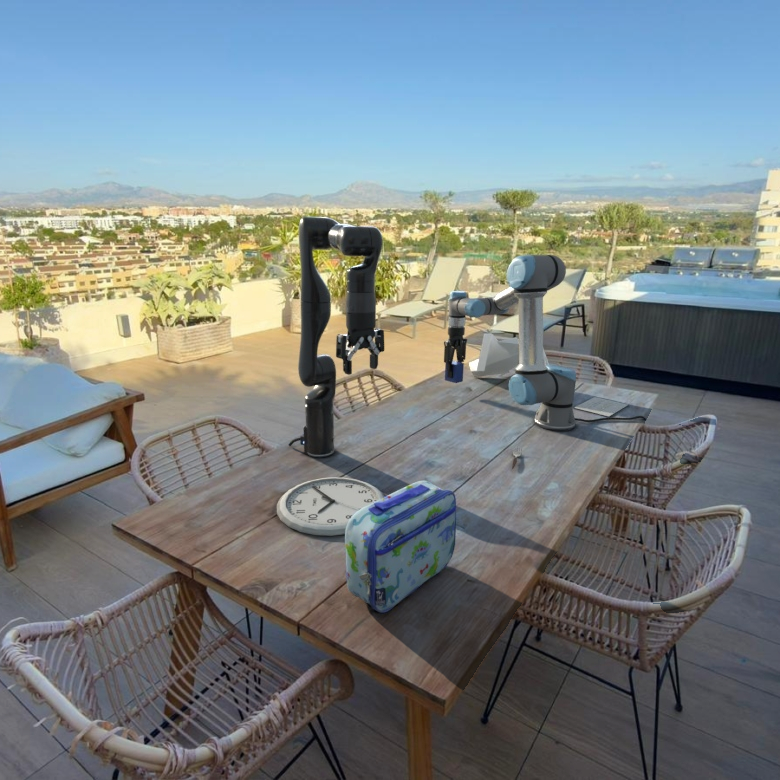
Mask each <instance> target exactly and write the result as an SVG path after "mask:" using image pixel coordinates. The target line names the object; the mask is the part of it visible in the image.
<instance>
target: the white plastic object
mask: <svg viewBox="0 0 780 780" xmlns="http://www.w3.org/2000/svg"><path fill="white" fill-rule="evenodd" d="M545 351H546V350H545V348H544V347H543V364H544V365H545V366H547V365H550V363H549V360H548V356H547V354H546V352H545ZM518 365H519V337H516V336H514V337H510V338H506V339H502V340H499V339H497V338H496V336H495V335H494V334H493V333H483V337H482V342H481V346H480V352H479V356H478V358H477V359H475V360H473V361H470V362H468V366H469V369H470V373H471V374H472V375H473V377H475V378H477V377H488V376H495V375H500V376H505V375H507V374H509V373H511V370H513V369H515V368H516V367H517V366H518Z"/></svg>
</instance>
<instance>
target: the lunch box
mask: <svg viewBox="0 0 780 780" xmlns="http://www.w3.org/2000/svg"><path fill="white" fill-rule="evenodd" d="M456 531H457V499H456V495H455V493H454V492H453V490H450V489H442V488H440V487H439V486H437V485H435V484H433V483H432V482H430V481H428V480H418V481H416V482H413V483H410V484H409V485H406V486H405V487H402V488H400V489H398V490H396V491H394V492H392V493H390V494H388V495H385V497H384V498H382V499H380V500H378V501H376V502H374V503H372V504H370V505H368V506H366V507H364V508H362V509H360V510H358V511H357V512H355V513H354V514H353V515H352V517H351V518H350V520H349V522H348V524H347V527H346V531H345V534H344V552H345V577H346V578H345V580H346V586H347V589H348V592H349V593H350V594H352V595H354V596H356V597H357V598H359V599H361V600H363V602H365V603H367V604H368V605H370V607H371V608H372V609H373V610H375V611H376V612H378V613H380V614H382V613H383V614H385V613H387V612H389V611H391V609H393V608H394V607H395V606H396V605H397V604H400V602H401V601H402V600H404V599H406V597H409V596H410V595H411V594H412V593H414V592H415V591H416V590H417V589H418V588H420V587H421V586H422V585H423V584H424V583H425V582H427V581H428V580H430V579H432V578H433V577H434V576H436V575H437V574H439V573H441V572H442V571H443V570H445V568H446V567H447V566H448V564H449V563H450V561H451V560H452V557H453V554H454V551H455V548H456V547H455V546H456Z"/></svg>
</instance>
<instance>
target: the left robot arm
mask: <svg viewBox="0 0 780 780" xmlns="http://www.w3.org/2000/svg"><path fill="white" fill-rule="evenodd" d="M298 223H299V224H298V248H299V262H300V343H299V354H298V365H297V367H298V370H297V371H298V377H299V380H300V382H301V384H302V385H303V386H305V387H308V388H310V387H313V388H312V389H311V390H310V391H309V392H308V393H307V394H306V395H305V396H304V413H305V414H304V415H305V416H304V417H305V425H304V426H303V429H302V430H303V434H302V435H300V437H295V438H294V439H292V440H291V441H290V442H289V443H288V446H289V447H292V446H293V444H294V443H296V442H299V441H300V446H303V453H304V454H305V455H308V456H309V457H312V458H327V457H329V456H332V455H333V454H335V440H336V436H335V424H334V423H335V421H334V419H335V418H334V413H335V412H334V399H335V396H336V392H337V391H336V387H337V367H336V363H335V361H334V359H333V357H331V356H330V354H329V355H328V354H319V355H318V350H319V349H318V348H319V344H320V341H321V338H322V336H323V335H324V333H325V331H326V328H327V327H328V324H329V322H330V319H331V316H332V315H331V313H332V295H331V292H330V291H331V290H330V289H329V288H328V286H327V284H326V281H324V279H323V278H322V275H321V274H320V273H319V270H318V269H317V266H316V263H315V259H314V251H328V250H333V249H334V250H335V251H336V252H337V251H338V252H341V254H342V255H343V256H345V257H364V258H363V260H362V262H361V263H360V264H358V265H354V266H351V267H349V268H348V269H347V270H346V295H345V326H346V329H347V332H346V334H340V333H338V334H337V335H336V339H335V340H336V343H335V357H336V358H337V359H341V360H342V371H343V372H344V374H346V375H348V376H350V375H352V374H353V370H352V369H353V361H352V358H353V357H354V355H355V354H357V352H358V351H361V350H363V349H365V350H366V349H367V350H368V351H369V353H370V354H369V368H370V369H371V370H376V369H378V366H379V355H380V353H383V352H385V331H384V329H381V328H376V326H377V323H376V322H377V320H376V319H377V299H376V272H377V267H378V264H379V261H380V260H379V259H380V256H381V254H382V249H383V243H384V242H383V240H384V239H383V235H382V233H381V231H380V230H379V229H378V227H376V226H359V225H358V226H354V225H351V224H345V223H339V222H338V221H337V220H335V219H333V218H330V217H322V216H302V217H301V218H300V221H299V222H298Z"/></svg>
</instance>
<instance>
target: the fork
mask: <svg viewBox="0 0 780 780" xmlns="http://www.w3.org/2000/svg"><path fill="white" fill-rule="evenodd" d="M522 451H523V447H519V446H516V445H515V447H514V449H513V453H512V455H513V456H514V458H513V460H512V467H511V470H513V469H514V468H515V466H516V465H517V462H518V461H517V460H518V458H519V457H521V456H522Z"/></svg>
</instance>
